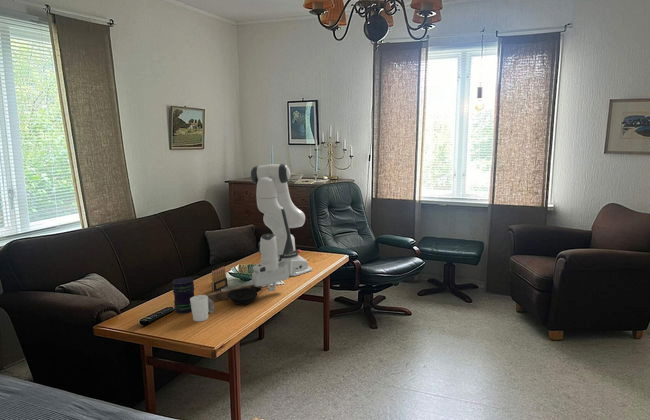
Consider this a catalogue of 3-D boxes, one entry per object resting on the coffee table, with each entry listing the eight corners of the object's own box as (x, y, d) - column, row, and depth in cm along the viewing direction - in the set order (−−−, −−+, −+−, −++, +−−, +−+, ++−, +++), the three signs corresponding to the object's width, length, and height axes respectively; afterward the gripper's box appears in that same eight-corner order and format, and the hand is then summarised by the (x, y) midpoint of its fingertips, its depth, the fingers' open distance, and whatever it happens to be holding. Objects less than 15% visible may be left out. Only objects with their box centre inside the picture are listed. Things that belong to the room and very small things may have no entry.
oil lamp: (270, 296, 228) (269, 287, 227) (244, 309, 212) (243, 299, 211) (248, 292, 236) (248, 283, 235) (221, 304, 220) (221, 295, 219)
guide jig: (259, 289, 240) (259, 280, 240) (272, 296, 228) (272, 287, 227) (199, 304, 222) (198, 294, 221) (210, 312, 210) (209, 302, 209)
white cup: (193, 323, 198) (191, 302, 196) (191, 317, 205) (189, 296, 204) (211, 320, 201) (209, 299, 199) (208, 314, 208) (206, 293, 207)
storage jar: (195, 304, 221) (192, 276, 219) (197, 311, 212) (194, 281, 210) (174, 308, 218) (171, 279, 216) (175, 315, 209) (172, 284, 206)
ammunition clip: (214, 292, 239) (212, 270, 237) (211, 291, 240) (210, 270, 238) (227, 286, 248) (226, 265, 247) (225, 285, 249) (223, 265, 248)
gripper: (284, 260, 238) (285, 285, 240) (249, 267, 227) (251, 293, 229) (290, 262, 233) (291, 287, 235) (255, 270, 222) (256, 296, 224)
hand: (271, 290), depth 232 cm, fingers closed
